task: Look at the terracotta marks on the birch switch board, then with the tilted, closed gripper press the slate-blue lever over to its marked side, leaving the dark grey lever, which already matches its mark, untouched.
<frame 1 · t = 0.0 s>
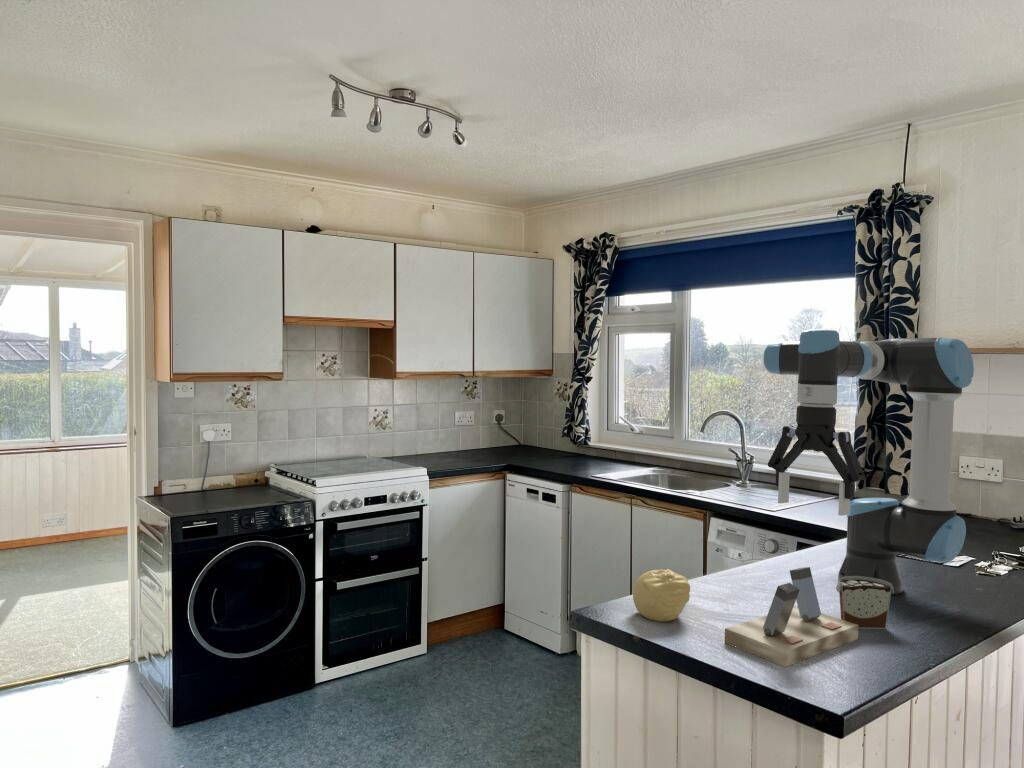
hand: (812, 508, 151), 28 cm above the worktop, tool pointing down, fingers open, 13 cm apart
pale yellow wrinkled ball: (659, 617, 165), on the worktop
lever a: (805, 594, 158), point 8 cm above the worktop, hinge at 18.0°
food container: (858, 624, 164), on the worktop
lever b: (780, 610, 147), point 8 cm above the worktop, hinge at -18.0°
switch board: (792, 640, 152), on the worktop
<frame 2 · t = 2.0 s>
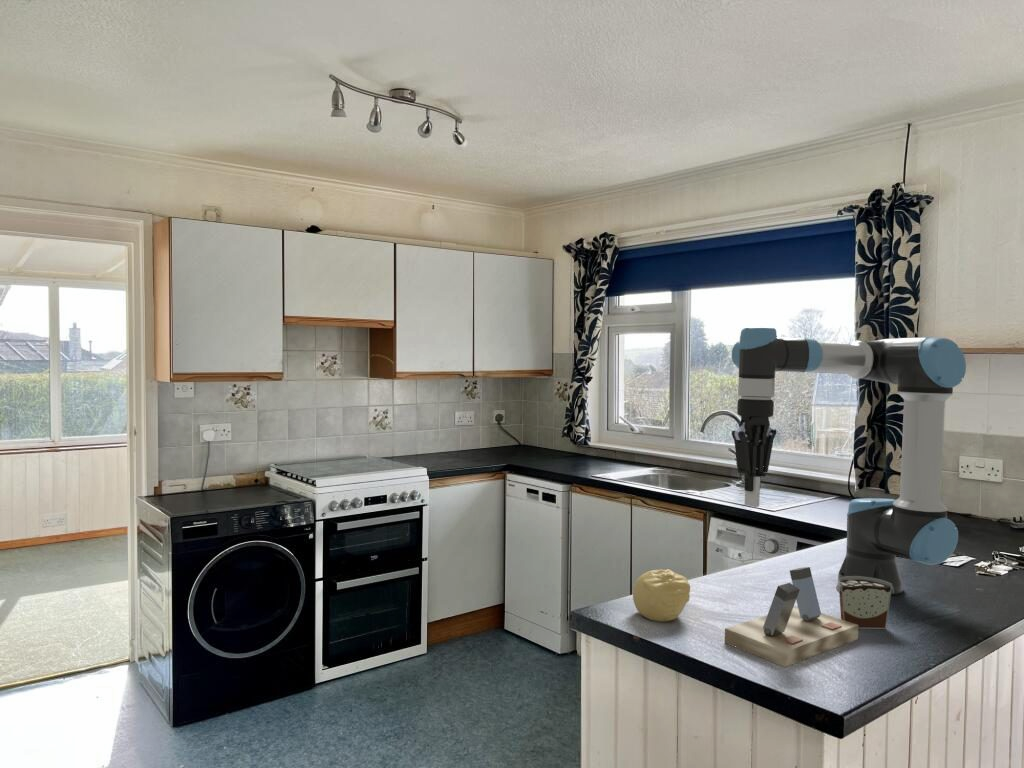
hand: (751, 505, 160), 26 cm above the worktop, tool pointing down, fingers closed
nothing on the worktop moved.
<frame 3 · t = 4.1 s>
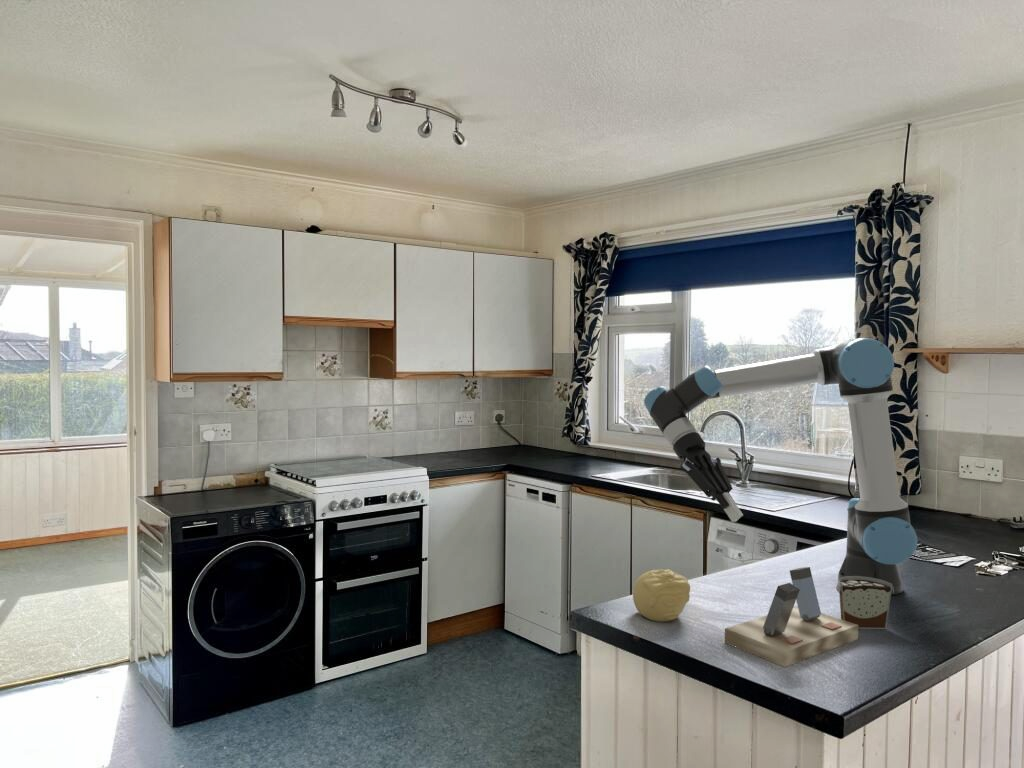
hand: (737, 518, 172), 21 cm above the worktop, tool tilted 45°, fingers closed
nothing on the worktop moved.
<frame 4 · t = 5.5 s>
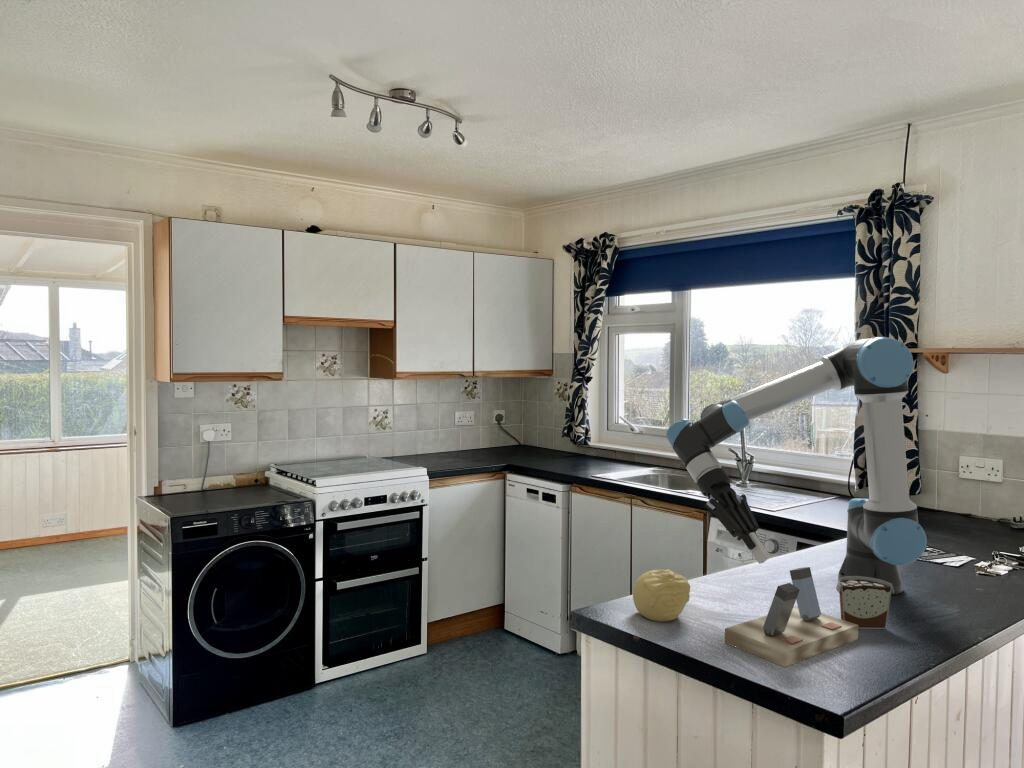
hand: (764, 560, 165), 13 cm above the worktop, tool tilted 45°, fingers closed
nothing on the worktop moved.
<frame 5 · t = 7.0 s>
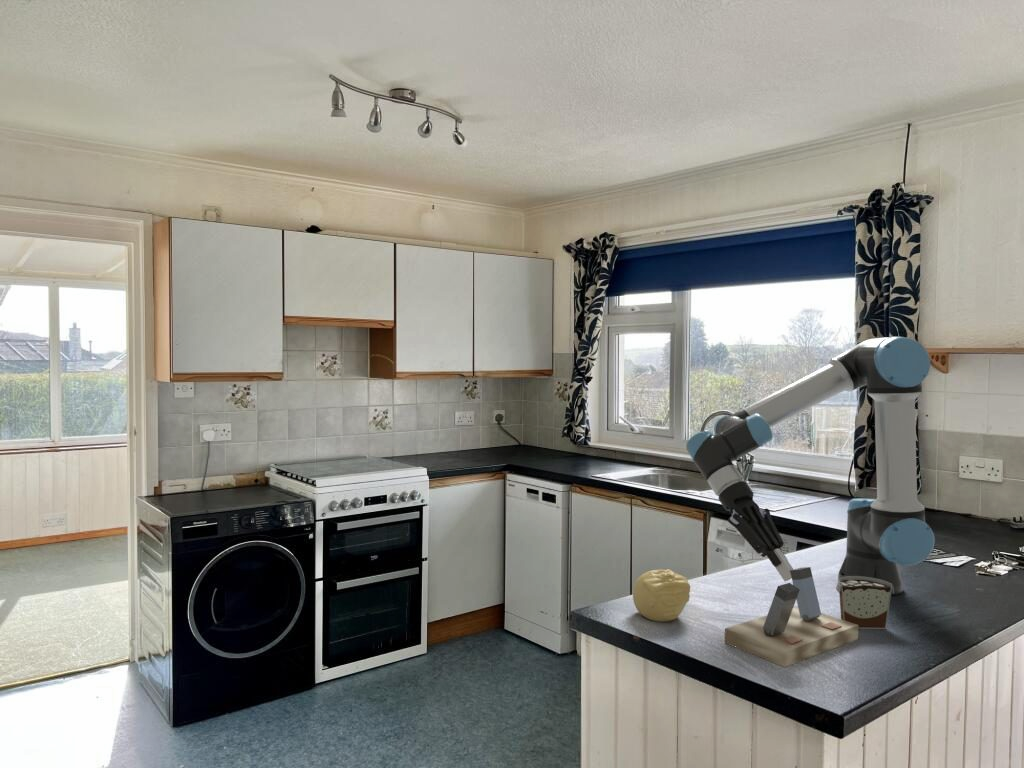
hand: (790, 577, 160), 11 cm above the worktop, tool tilted 45°, fingers closed
lever a: (805, 594, 157), point 8 cm above the worktop, hinge at 17.3°, touching gripper
everything else where it was.
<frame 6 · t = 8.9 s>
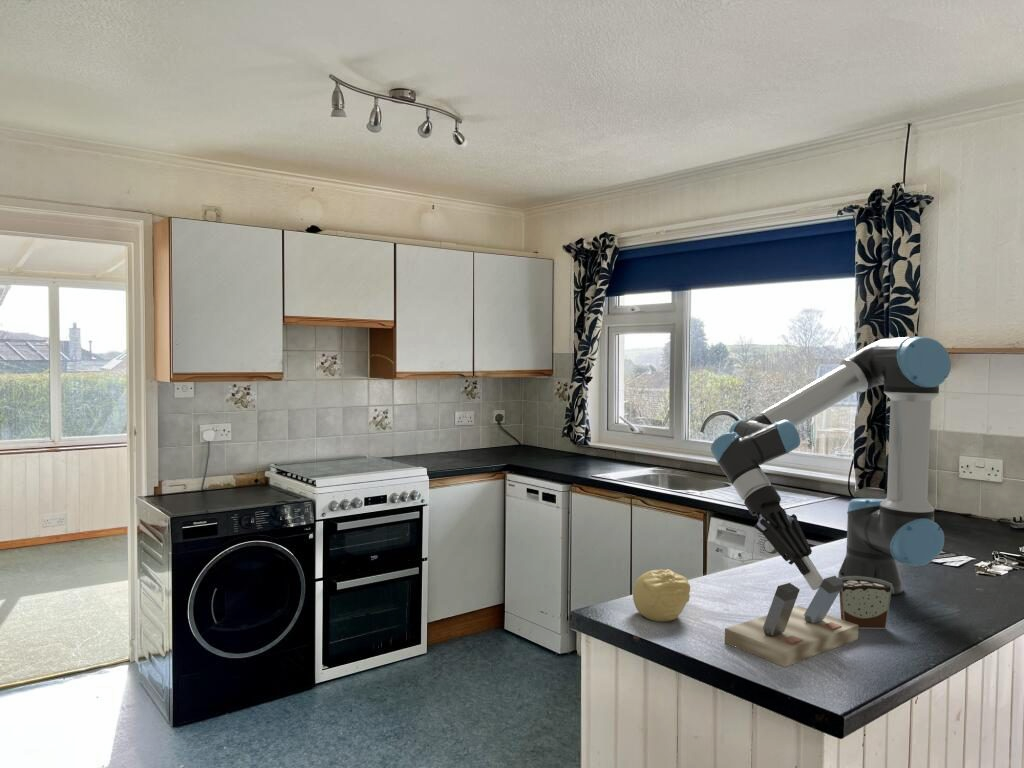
hand: (819, 586, 154), 11 cm above the worktop, tool tilted 45°, fingers closed
lever a: (823, 600, 154), point 8 cm above the worktop, hinge at -25.8°, touching gripper
everything else where it was.
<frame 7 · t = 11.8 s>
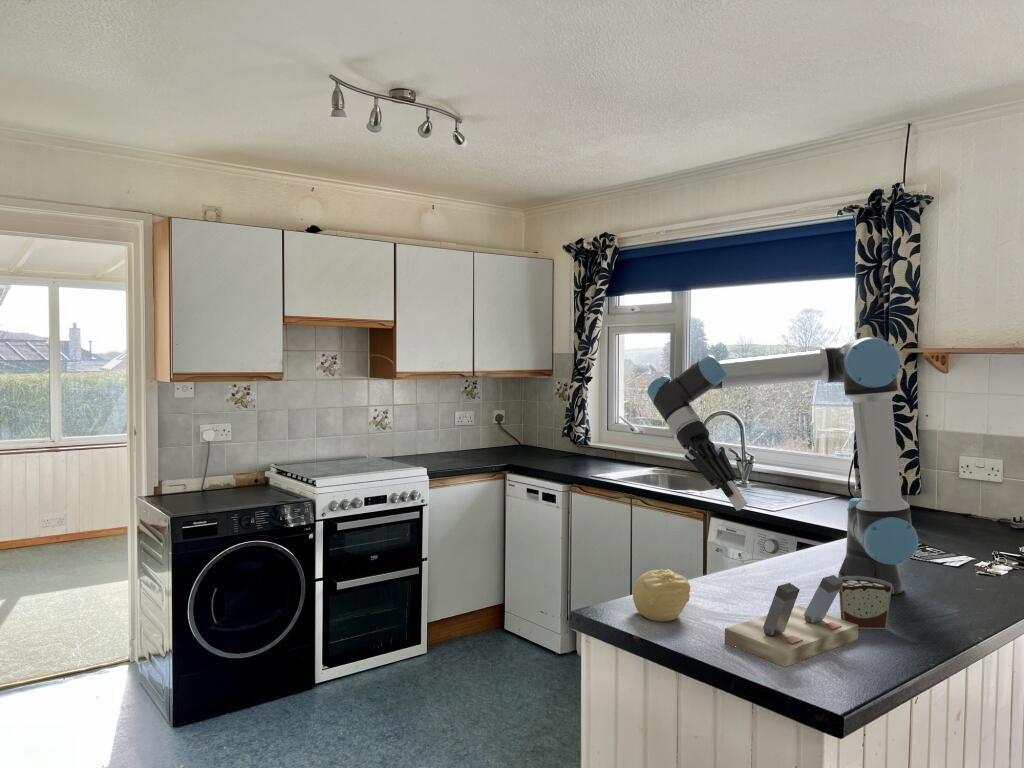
hand: (742, 506, 171), 24 cm above the worktop, tool tilted 45°, fingers closed
lever a: (822, 600, 154), point 8 cm above the worktop, hinge at -24.2°
everything else where it was.
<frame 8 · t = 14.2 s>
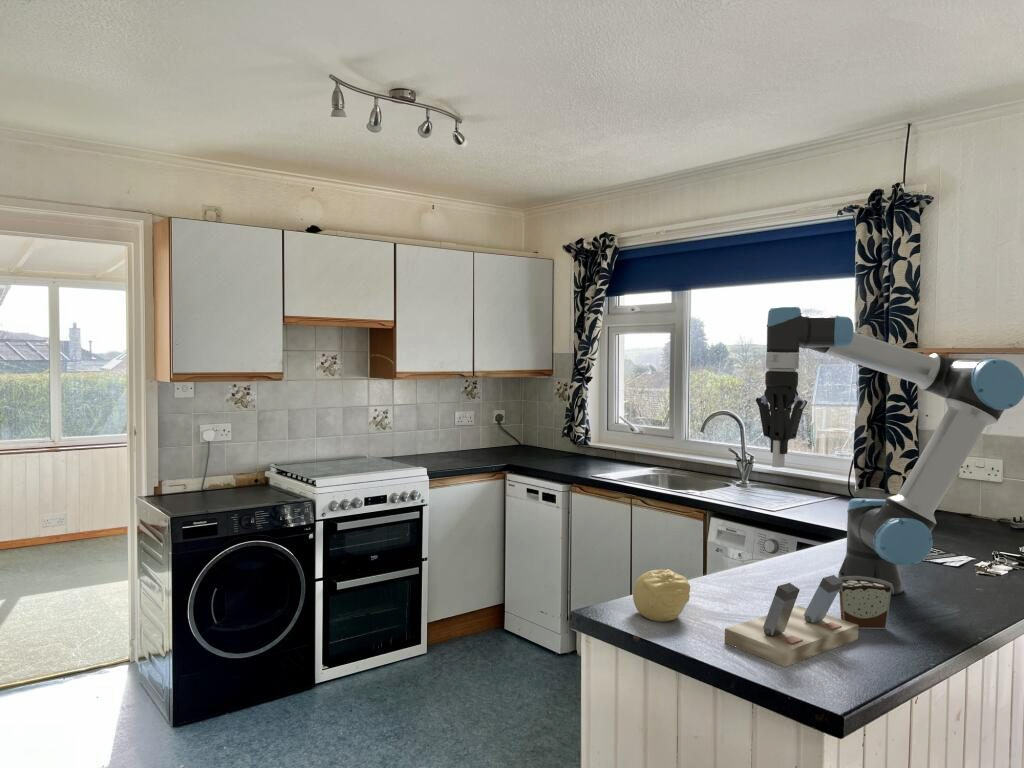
hand: (778, 466, 179), 32 cm above the worktop, tool pointing down, fingers closed
nothing on the worktop moved.
at the end: lever a at -24° (first picture: +18°); lever b at -18° (first picture: -18°) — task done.
